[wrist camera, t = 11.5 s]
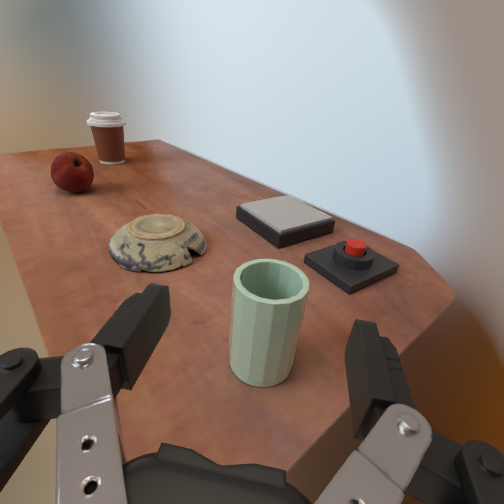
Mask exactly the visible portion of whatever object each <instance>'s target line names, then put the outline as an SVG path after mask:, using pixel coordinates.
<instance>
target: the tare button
mask: <svg viewBox="0 0 504 504" xmlns="http://www.w3.org/2000/svg"><path fill="white" fill-rule="evenodd" d="M365 250H366V244H365V243H364V242H363V241H360V240H357V239H349V240H348V241H347V243H346V247H345V252H346V253H348V254H349V255H352V256H359V257H362V256H363V255H364V253H365Z"/></svg>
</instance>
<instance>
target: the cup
mask: <svg viewBox="0 0 504 504" xmlns="http://www.w3.org/2000/svg"><path fill="white" fill-rule="evenodd" d="M308 293H309V280H308V278H307V277H306V275H305V273H304V272H303V271H301V270H300V269H298V268H297V267H296V266H294V265H292V264H289V263H287V262H284V261H281V260H274V259H255V260H252V261H249V262H245V263H244V264H242V265H241V266H240V267H238V268H237V269H236V272H235V274H234V276H233V290H232V308H231V325H230V343H229V363H230V367H231V369H232V371H233V372H234V374H235V375H236V376H237V377H238V378H239V379H240V380H242V381H243V382H245V383H247V384H249V385H252V386H255V387H271V386H274V385H277V384H279V383H281V382H282V381H284V380H285V379H286V378H287V376H288V375H289V373H290V371H291V368H292V366H293V361H294V356H295V352H296V347H297V343H298V338H299V334H300V329H301V324H302V320H303V315H304V311H305V306H306V302H307V297H308Z"/></svg>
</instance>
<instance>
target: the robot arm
mask: <svg viewBox="0 0 504 504" xmlns="http://www.w3.org/2000/svg"><path fill="white" fill-rule="evenodd" d="M170 316H171V309H170V295H169V287H168V286H165V285H159V284H153V283H150V284H149V285H148V286H147V287H146V289H145V290H144V291H143V293H135V294H133V295H132V296H130V297H129V298H127V299H126V300H125V301H124V302H123V303H122V304H121V306H120V307H119V309H118V310H116V312H115V313H114V314H113V317H111V318H110V319H109V320H108V321H107V323H106V324H105V325H104V326H103V327H102V329H101V330H100V331H99V332H98V334H97V335H96V336H95V337H94V338H93V340H92V341H91V342H90V343H89V344H83V345H80V346H77V347H75V348H73V349H72V350H70V351H69V352H68V353H67V354H66V355H65V356H59V357H47V358H39V357H38V355H37V353H36V352H35V350H33V349H31V348H17V349H14V350H10V351H8V352H6V353H4V354H2V355H0V492H1V491H2V489H3V488H4V486H5V485H6V483H7V482H8V480H9V479H10V478H11V476H12V475H13V473H14V472H15V470H16V469H17V467H18V466H19V465H20V463H21V462H22V460H23V459H24V457H25V456H26V454H27V453H28V451H29V450H30V449H31V447H32V446H33V444H34V443H35V441H36V440H37V438H38V437H39V435H40V434H41V433H42V431H43V429H44V428H45V427H46V425H47V424H48V422H49V421H50V419H54V418H57V419H56V503H55V504H311V502H310V501H309V500H308V499H307V498H306V497H305V496H304V495H303V494H302V493H301V492H300V491H299V490H298V489H297V488H295V487H294V486H293V485H291V484H290V483H288V482H286V471H285V470H281V469H277V468H272V467H268V466H263V465H259V464H240V465H225V466H222V465H218V464H216V463H215V462H213V461H211V460H209V459H208V458H206V457H204V456H202V455H201V454H199V453H197V452H195V451H194V450H192V449H188V448H184V447H179V446H175V445H170V444H166V443H161V445H160V448H159V450H158V452H156V453H150V454H145V455H142V456H139V457H137V458H134V459H132V460H130V461H128V462H127V457H126V452H125V447H124V442H123V436H122V429H121V423H120V417H119V411H118V405H117V399H116V396H117V394H118V393H119V391H120V389H121V388H122V389H127V390H132V388H133V386H134V384H135V383H136V381H137V379H138V377H139V376H140V374H141V372H142V370H143V369H144V367H145V365H146V363H147V361H148V360H149V358H150V356H151V354H152V353H153V351H154V349H155V347H156V346H157V344H158V342H159V340H160V339H161V337H162V335H163V333H164V332H165V330H166V328H167V326H168V324H169V321H170ZM345 365H346V374H347V382H348V390H349V399H350V407H351V415H352V423H353V432H354V439H359V440H364V441H363V442H362V444H361V445H360V446H359V448H358V449H357V448H356V449H355V450H354V451H353V452H352V453H351V455H350V456H349V457H348V459H347V460H346V462H345V463H344V464H343V466H342V467H341V468H340V470H339V471H338V472H337V474H336V475H335V476H334V478H333V479H332V480H331V482H330V483H329V484H328V486H327V487H326V489H325V490H324V491H323V493H322V494H321V495H320V497H319V498H318V499H317V501H316V502H315V503H314V504H401V502H402V500H403V498H404V496H405V493H407V494H409V495H411V496H412V497H414V498H416V499H417V500H419V501H421V502H423V503H424V504H504V455H503V454H502V453H501V452H500V451H499V450H497V449H496V448H494V447H493V446H491V445H489V444H487V443H485V442H482V441H477V440H472V441H468V442H467V443H465V445H464V446H462V445H460V444H458V443H456V442H454V441H452V440H450V439H447V438H446V437H444V436H441V435H440V434H438V433H436V432H435V431H433V430H432V429H431V427H430V425H429V423H428V422H427V421H426V419H425V418H424V417H423V416H422V415H421V414H420V413H419V412H418V411H416V410H415V408H414V405H413V401H412V398H411V395H410V392H409V389H408V385H407V382H406V379H405V376H404V373H403V372H402V366H401V363H400V362H399V356H398V353H397V350H396V348H395V347H394V345H393V344H392V343H391V341H390V340H389V339H388V338H387V337H381V336H379V332H378V329H377V325H376V323H375V322H370V321H364V320H358V319H356V320H355V322H354V324H353V327H352V330H351V333H350V336H349V339H348V342H347V345H346V349H345Z"/></svg>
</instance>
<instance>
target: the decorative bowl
mask: <svg viewBox="0 0 504 504" xmlns="http://www.w3.org/2000/svg"><path fill="white" fill-rule="evenodd" d="M206 247H207V243H206V240H205V238H204V236H203V235H202V233H201V232H200V230H199V229H198V228H197V227H195V226H194V225H193V224H191V223H189V222H187V221H185V220H182V219H180V218H178V217H176V216H173V215H168V214H151V215H145V216H141V217H139V218H136V219H134V220H133V221H131V222H130V223H128V224H126V225H124V226H122V227H121V228H120V229H119V230H118V231H116V232H115V234H114V235H113V236H112V238H111V240H110V241H109V250H110V253H111V255H112V256H113V257H114V258H115V259H116V260H117V262H118V264H119V265H120V267H122V268H124V269H127V270H131V271H137V272H141V270H144V271H149V272H162V271H168V270H174V269H176V268H179V267H180V266H181V265H182V266H186V265H189V264H190V263H192V262H193V261H192V258H191V256H190V253H189V251H188V249H191V250H194V251H196V252H197V253H199V254H200V255H202V254H203V253H204V252H205V251H206ZM187 248H188V249H187Z"/></svg>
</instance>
